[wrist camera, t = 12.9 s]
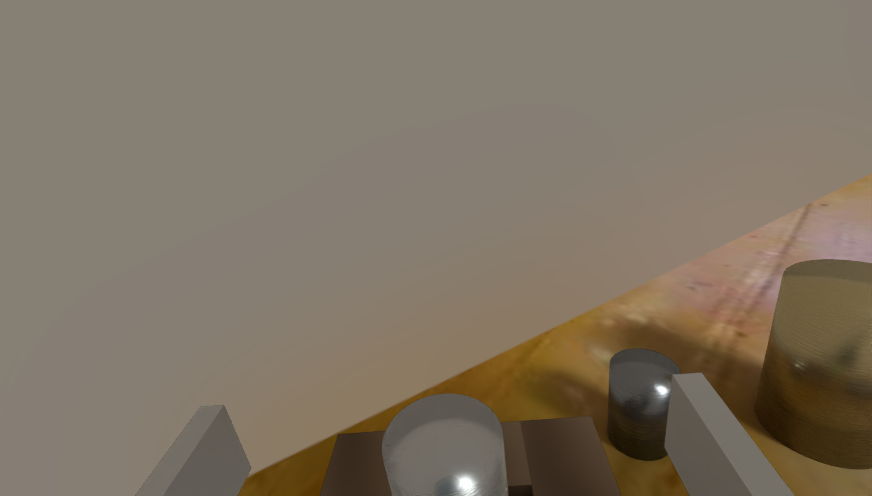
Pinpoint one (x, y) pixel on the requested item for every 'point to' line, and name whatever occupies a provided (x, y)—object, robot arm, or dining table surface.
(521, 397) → the dining table surface
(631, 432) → the short dark roller
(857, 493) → the dining table surface
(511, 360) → the dining table surface
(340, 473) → the walnut block
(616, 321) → the dining table surface
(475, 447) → the steel roller
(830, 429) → the fat brass roller
